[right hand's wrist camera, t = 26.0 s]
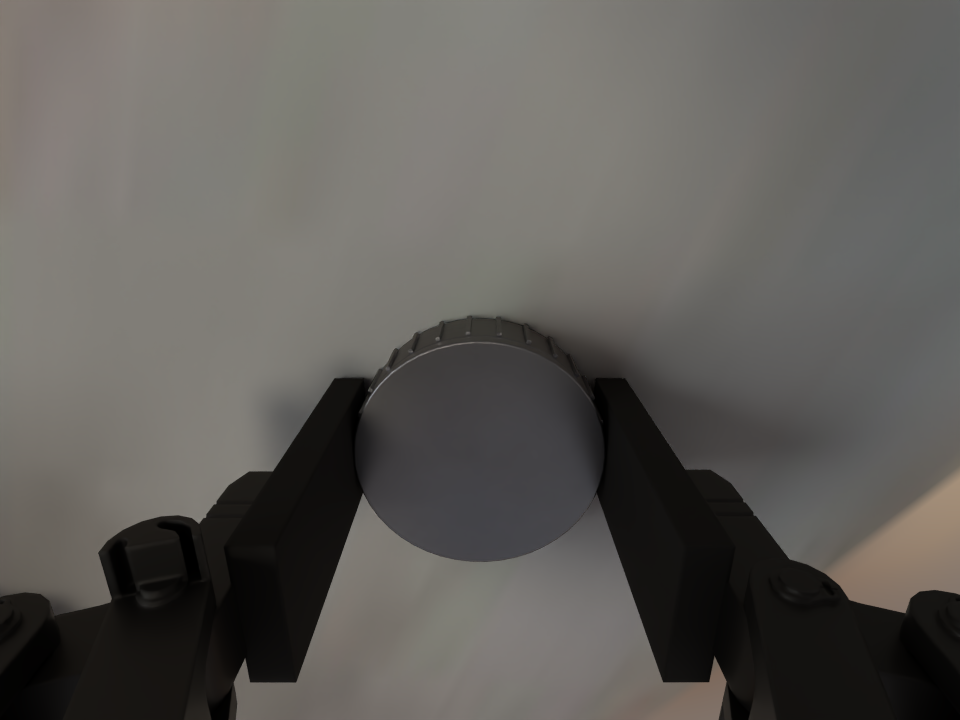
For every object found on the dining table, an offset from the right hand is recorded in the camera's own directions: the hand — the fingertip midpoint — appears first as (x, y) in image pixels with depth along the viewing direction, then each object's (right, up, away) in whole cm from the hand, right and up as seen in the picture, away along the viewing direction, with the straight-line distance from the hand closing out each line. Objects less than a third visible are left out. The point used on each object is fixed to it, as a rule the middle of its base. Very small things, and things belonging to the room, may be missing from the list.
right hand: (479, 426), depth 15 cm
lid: (0, 0, -1) cm, 1 cm away
